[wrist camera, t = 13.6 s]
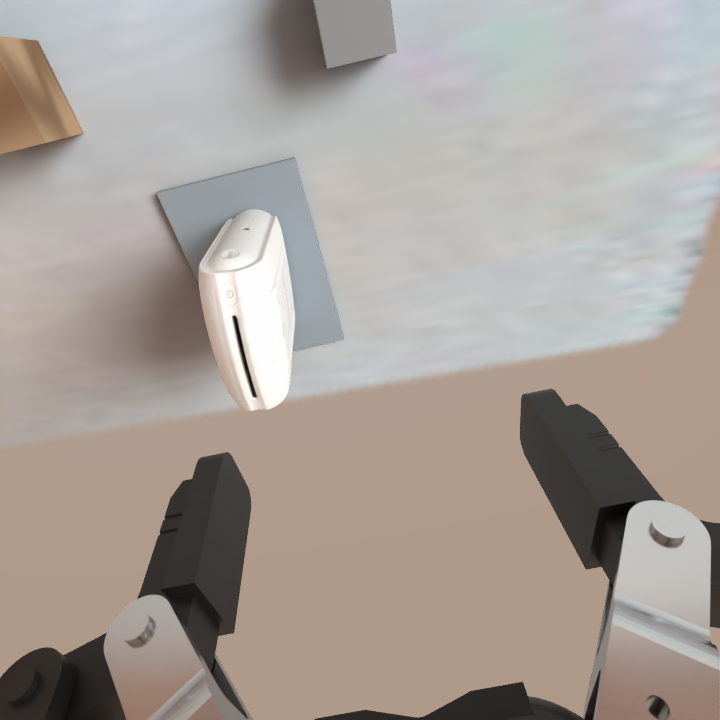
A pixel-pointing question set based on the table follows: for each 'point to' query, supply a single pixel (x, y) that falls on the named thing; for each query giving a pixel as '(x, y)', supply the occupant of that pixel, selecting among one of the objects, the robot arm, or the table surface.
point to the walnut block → (31, 98)
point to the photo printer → (250, 308)
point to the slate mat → (288, 202)
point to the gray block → (354, 30)
